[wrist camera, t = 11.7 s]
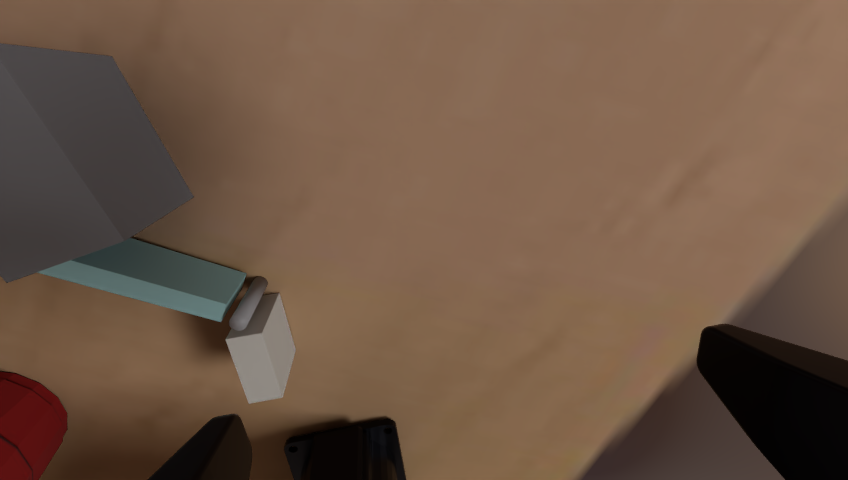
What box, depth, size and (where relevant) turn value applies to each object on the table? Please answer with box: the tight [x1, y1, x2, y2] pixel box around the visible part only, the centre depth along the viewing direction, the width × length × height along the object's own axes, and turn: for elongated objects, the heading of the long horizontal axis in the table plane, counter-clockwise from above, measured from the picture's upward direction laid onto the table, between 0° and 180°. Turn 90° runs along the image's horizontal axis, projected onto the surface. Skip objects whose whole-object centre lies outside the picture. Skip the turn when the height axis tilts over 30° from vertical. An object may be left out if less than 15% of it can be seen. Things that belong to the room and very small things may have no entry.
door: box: [37, 238, 247, 322], centre depth 16 cm, size 15×2×3 cm, turn 66°
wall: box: [225, 277, 296, 404], centre depth 15 cm, size 24×2×4 cm, turn 7°
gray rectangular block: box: [0, 43, 194, 283], centre depth 14 cm, size 6×4×6 cm, turn 18°
